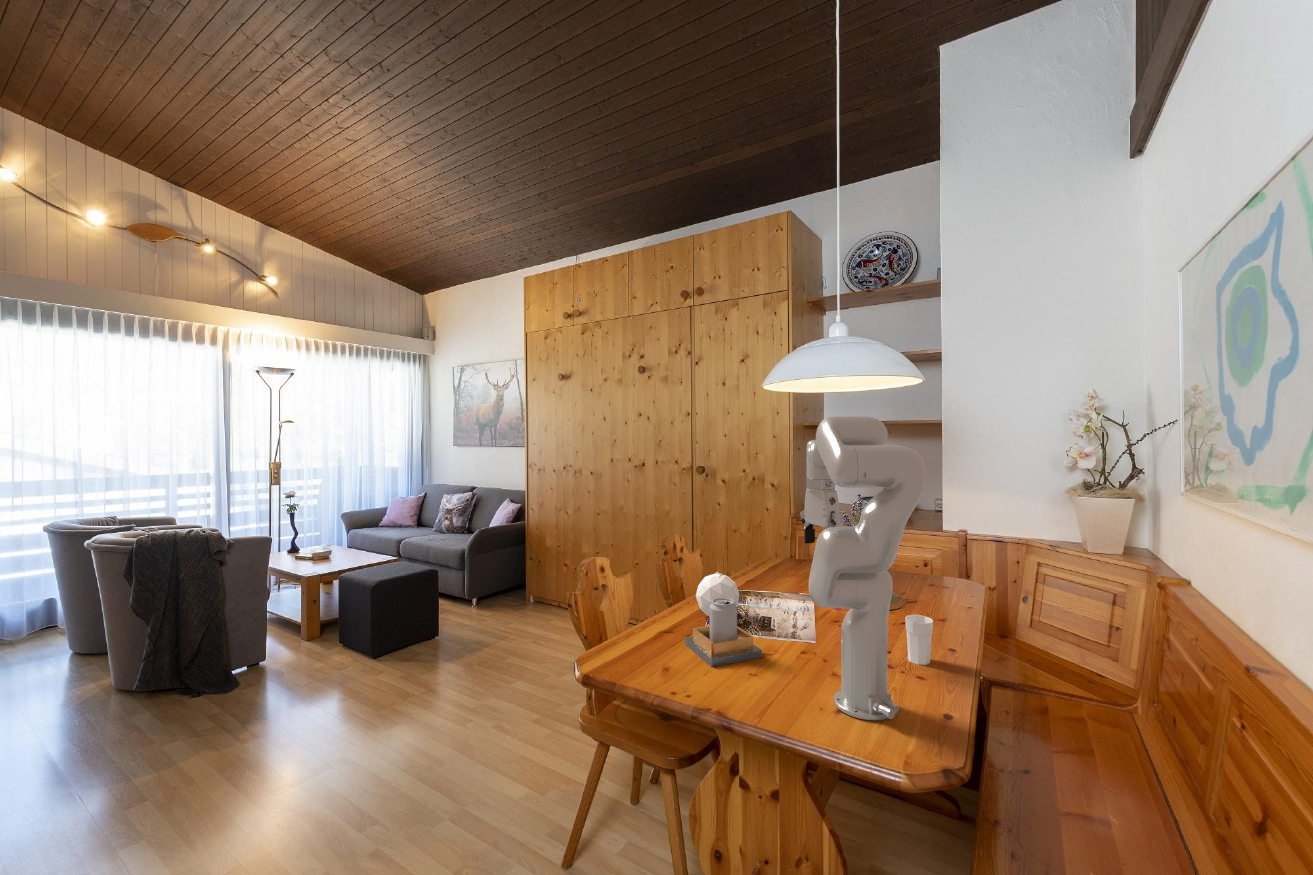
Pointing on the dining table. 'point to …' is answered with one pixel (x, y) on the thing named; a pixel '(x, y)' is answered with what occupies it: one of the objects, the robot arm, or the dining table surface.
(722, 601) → the can
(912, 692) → the dining table surface
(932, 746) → the dining table surface
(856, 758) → the dining table surface
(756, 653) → the open square box
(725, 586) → the geodesic sphere
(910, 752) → the dining table surface
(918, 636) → the cup
